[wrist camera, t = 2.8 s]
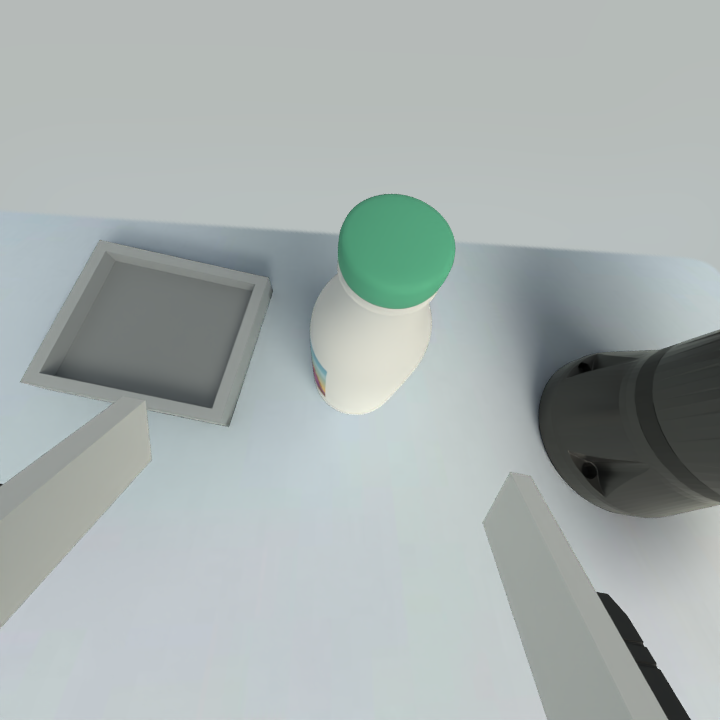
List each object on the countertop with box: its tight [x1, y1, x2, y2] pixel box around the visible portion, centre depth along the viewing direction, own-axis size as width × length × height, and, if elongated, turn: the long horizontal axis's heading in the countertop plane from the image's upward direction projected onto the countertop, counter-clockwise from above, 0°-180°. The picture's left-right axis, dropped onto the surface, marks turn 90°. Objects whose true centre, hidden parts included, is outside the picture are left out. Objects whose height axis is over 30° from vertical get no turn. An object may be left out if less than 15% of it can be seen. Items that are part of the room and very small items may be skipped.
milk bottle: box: [310, 194, 455, 415], centre depth 22 cm, size 8×8×20 cm
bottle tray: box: [20, 240, 273, 427], centre depth 29 cm, size 16×14×2 cm
